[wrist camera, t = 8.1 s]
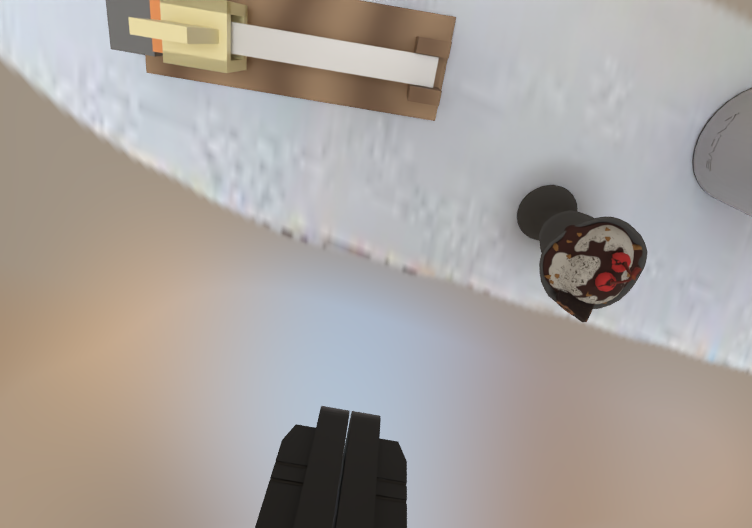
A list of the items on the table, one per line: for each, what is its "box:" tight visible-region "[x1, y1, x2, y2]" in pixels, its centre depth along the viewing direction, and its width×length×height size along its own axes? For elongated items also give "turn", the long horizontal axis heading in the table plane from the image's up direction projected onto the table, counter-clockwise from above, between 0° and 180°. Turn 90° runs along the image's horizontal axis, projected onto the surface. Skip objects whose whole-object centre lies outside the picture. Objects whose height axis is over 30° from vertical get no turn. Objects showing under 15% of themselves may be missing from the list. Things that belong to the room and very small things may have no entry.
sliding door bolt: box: [106, 0, 439, 88], centre depth 30 cm, size 21×4×5 cm, turn 81°
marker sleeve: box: [128, 0, 248, 73], centre depth 27 cm, size 4×4×8 cm
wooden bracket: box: [145, 0, 456, 121], centre depth 30 cm, size 22×7×6 cm, turn 81°
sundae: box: [517, 185, 647, 322], centre depth 31 cm, size 7×7×15 cm
